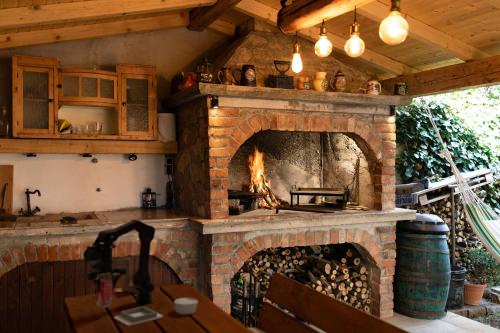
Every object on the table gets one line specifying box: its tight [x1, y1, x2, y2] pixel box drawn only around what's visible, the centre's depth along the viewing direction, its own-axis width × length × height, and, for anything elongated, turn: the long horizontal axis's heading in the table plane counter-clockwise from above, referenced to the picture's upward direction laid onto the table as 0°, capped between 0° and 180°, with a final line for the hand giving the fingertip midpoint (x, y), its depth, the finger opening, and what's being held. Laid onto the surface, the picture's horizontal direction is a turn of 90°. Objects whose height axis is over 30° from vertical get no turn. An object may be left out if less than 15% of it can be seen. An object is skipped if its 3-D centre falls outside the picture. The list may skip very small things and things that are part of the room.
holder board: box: [113, 305, 164, 327], centre depth 212 cm, size 18×13×3 cm
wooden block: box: [121, 257, 139, 294], centre depth 254 cm, size 4×11×18 cm, turn 70°
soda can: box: [95, 278, 114, 309], centre depth 214 cm, size 7×7×12 cm
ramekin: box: [173, 297, 199, 316], centre depth 222 cm, size 11×11×5 cm
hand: (105, 291), depth 214 cm, fingers closed on soda can, 7 cm apart
